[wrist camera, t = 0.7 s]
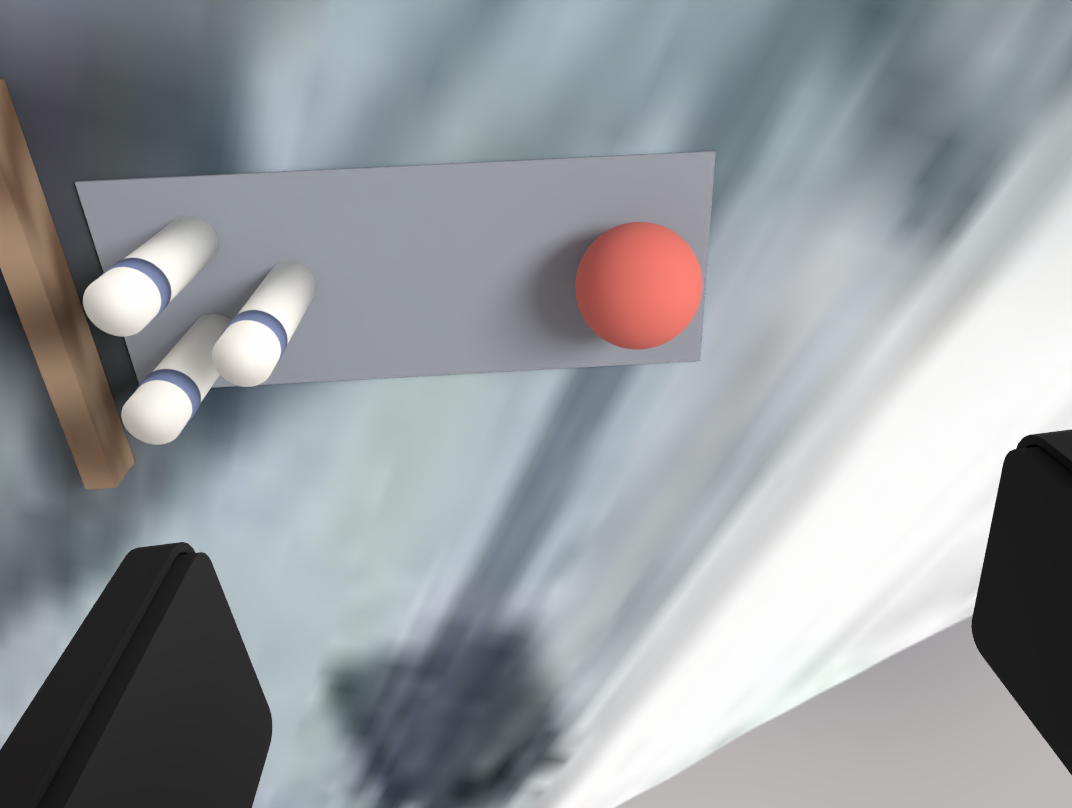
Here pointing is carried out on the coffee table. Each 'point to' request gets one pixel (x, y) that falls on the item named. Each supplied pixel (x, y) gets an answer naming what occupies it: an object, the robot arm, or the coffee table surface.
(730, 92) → the coffee table surface
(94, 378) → the back wall
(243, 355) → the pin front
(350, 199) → the lane
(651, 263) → the ball
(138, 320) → the pin
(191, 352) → the pin
